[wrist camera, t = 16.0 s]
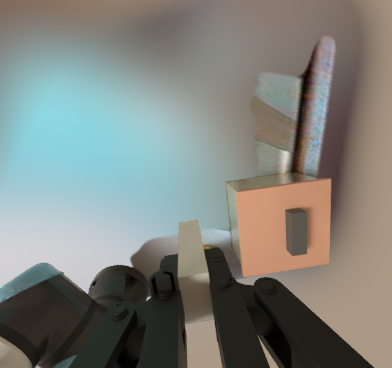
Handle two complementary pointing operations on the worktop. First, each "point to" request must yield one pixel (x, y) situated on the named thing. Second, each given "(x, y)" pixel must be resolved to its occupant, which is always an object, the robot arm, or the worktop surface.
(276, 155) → the worktop surface
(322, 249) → the lid
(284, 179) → the box body
